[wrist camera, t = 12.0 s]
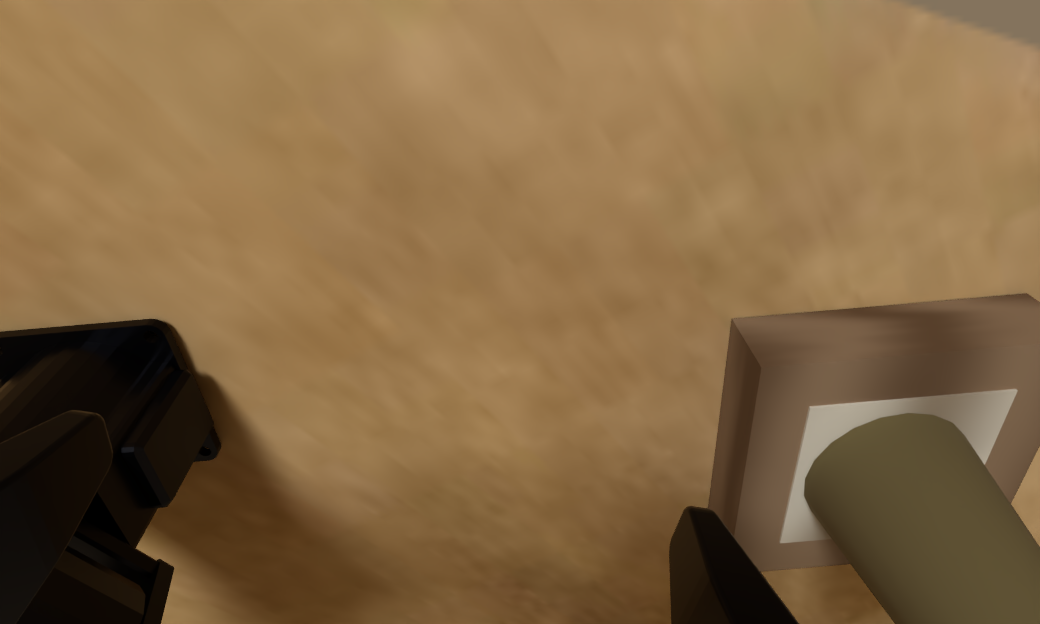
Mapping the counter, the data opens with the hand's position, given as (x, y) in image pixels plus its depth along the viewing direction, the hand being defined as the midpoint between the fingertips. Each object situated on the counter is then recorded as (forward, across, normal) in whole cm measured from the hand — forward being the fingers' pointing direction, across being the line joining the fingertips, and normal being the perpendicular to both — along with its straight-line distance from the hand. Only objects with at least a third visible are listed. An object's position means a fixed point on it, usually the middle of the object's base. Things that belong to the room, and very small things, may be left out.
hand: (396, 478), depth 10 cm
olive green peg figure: (+11, -16, +8) cm, 21 cm away
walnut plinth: (+14, -16, +8) cm, 23 cm away
